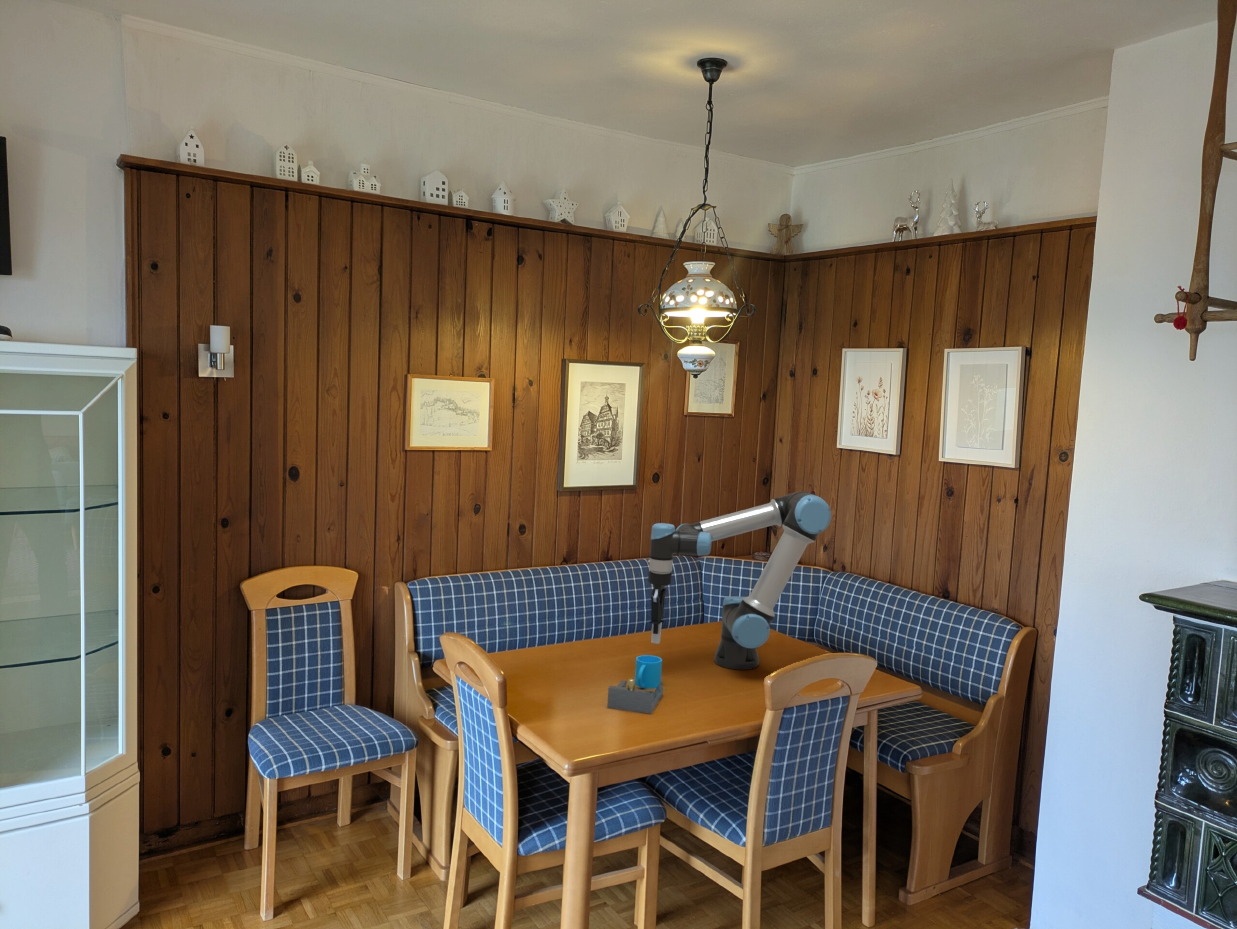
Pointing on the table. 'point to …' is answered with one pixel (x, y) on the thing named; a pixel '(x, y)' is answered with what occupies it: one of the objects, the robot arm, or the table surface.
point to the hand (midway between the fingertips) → (655, 642)
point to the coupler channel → (633, 697)
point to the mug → (648, 671)
